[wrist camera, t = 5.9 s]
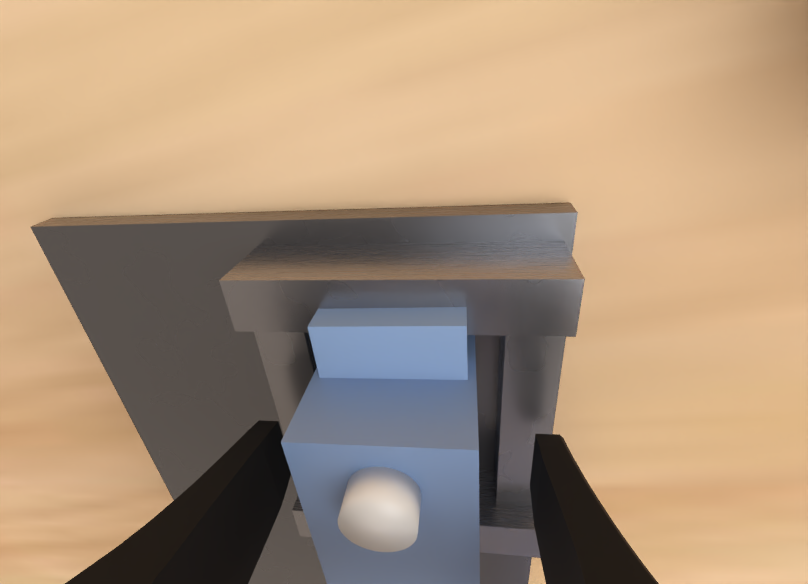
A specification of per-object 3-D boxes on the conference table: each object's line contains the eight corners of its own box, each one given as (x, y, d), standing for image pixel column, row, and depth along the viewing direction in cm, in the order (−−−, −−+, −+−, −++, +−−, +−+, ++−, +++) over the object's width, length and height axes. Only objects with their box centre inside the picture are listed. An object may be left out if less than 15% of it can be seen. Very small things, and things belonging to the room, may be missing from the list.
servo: (475, 480, 16) (481, 677, 11) (373, 475, 16) (332, 658, 11) (473, 265, 12) (480, 425, 7) (334, 269, 12) (242, 417, 7)
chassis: (522, 596, 21) (530, 673, 18) (223, 565, 23) (193, 629, 20) (570, 203, 11) (602, 246, 9) (52, 218, 13) (-46, 256, 11)
